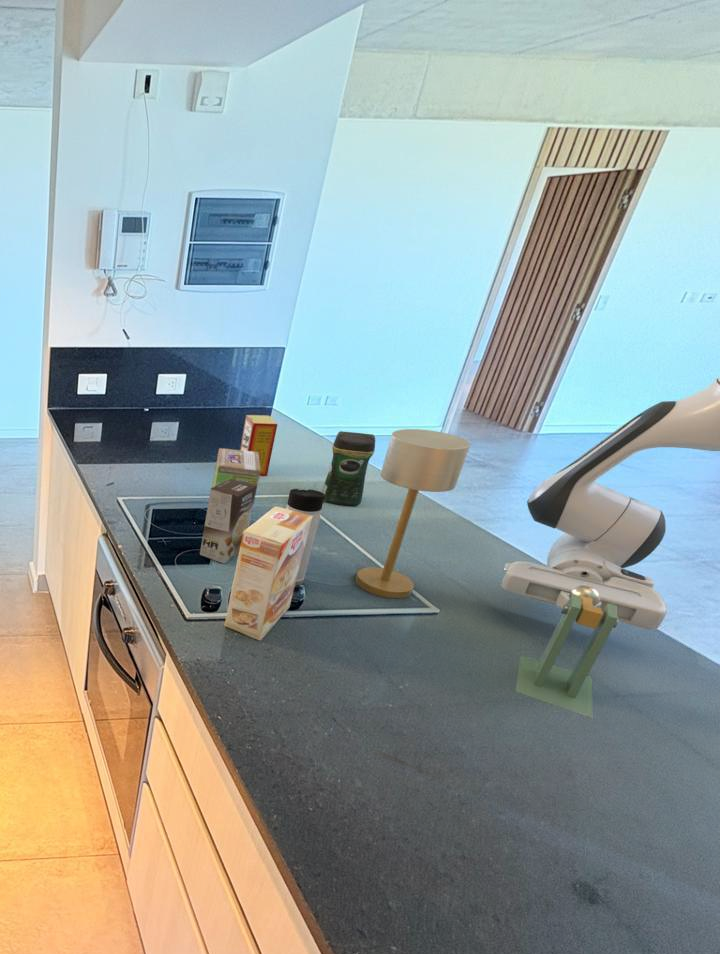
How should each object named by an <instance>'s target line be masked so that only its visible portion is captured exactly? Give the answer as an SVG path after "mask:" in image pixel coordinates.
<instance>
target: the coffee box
mask: <svg viewBox="0 0 720 954" xmlns="http://www.w3.org/2000/svg"><path fill="white" fill-rule="evenodd" d="M257 490H258V486H257V485H254V484H250V483H247V482H243V481H237V480H234V479H229V480H227V481H225V482H223V483H221V484H219V485H217V486H215V487H212V486H211V488H210V491H209V497H208V504H207V509H206V515H205V521H204V527H203V533H202V537H201V538H202V539H201V545H200V550H199V555H200V556H201V557H204V558H207V559H210V560H213V561H215V562H218V563H221V564H223V565H225V564H227V563H229V562H230V561H232V560H233V559H235V558H236V557H238V555H239V551H240V546H241V541H242V536H243V531H244V530H246V529H247V528H248V527H249V526H250V525H251V519H252V514H253V509H254V504H255V499H256V495H257Z"/></svg>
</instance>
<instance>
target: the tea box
mask: <svg viewBox="0 0 720 954" xmlns="http://www.w3.org/2000/svg"><path fill="white" fill-rule="evenodd" d="M216 457H217V458H216V463H215V468H214V472H213V473H214V474H213V478H212V485H211V488H212V487H215V486H217V485H219V484H221V483H223V482H225V481H227V480H229V479H234V480H237V481H243V482H247V483H250V484H254V485H257V487H259V486H258V485H259V480H260V477H261V476H260V461H259V453H258V452H252V451H242V450H240V449H231V448H224V447H223V448H221V447H220V448H218V453H217V456H216Z"/></svg>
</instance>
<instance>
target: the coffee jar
mask: <svg viewBox="0 0 720 954" xmlns="http://www.w3.org/2000/svg"><path fill="white" fill-rule="evenodd" d="M331 447H332V450H331V451H332V458H331V463H330V466H329V469H328V473H327V475H326V478H325V481H324V483H323V487H322V491H321V492H322V493H324V494H325V497H324V502H327V503H330V504H336V505H342V506H358V505H360V504H361V503H362V499H363V495H364V489H365V488H364V487H365V480H366V474H367V470H368V466H369V462H370V459H371V458H372V457H373V455H374V453H375V451H376V450H375V449H376V436H375V435H374V434H373V433H372V434H371V433H362V432H354V431H343V430H340V431H338V432H337V434H336V437H335V439H334V442H333V444H332V446H331Z"/></svg>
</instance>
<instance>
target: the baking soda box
mask: <svg viewBox="0 0 720 954" xmlns="http://www.w3.org/2000/svg"><path fill="white" fill-rule="evenodd" d="M277 429H278V423H277V422H276V421H275V420H274V419H273V418H272V417H271V416H270V415H269V414H267V415H266V414H265V415H264V414H245V419H244V425H243V431H242V437H241V443H240V449H239V450H242V451H252V452H258V453H259V461H260V477H268V473H269V467H270V463H271V458H272V453H273V449H274V443H275V438H276V433H277Z"/></svg>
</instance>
